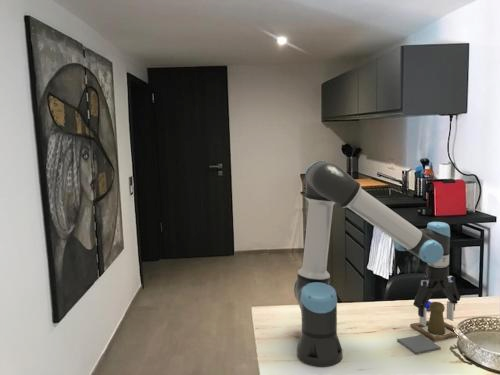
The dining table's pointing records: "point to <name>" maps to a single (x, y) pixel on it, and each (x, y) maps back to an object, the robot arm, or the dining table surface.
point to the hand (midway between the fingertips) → (436, 321)
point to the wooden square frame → (433, 338)
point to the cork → (436, 319)
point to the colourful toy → (427, 305)
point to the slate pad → (418, 344)
